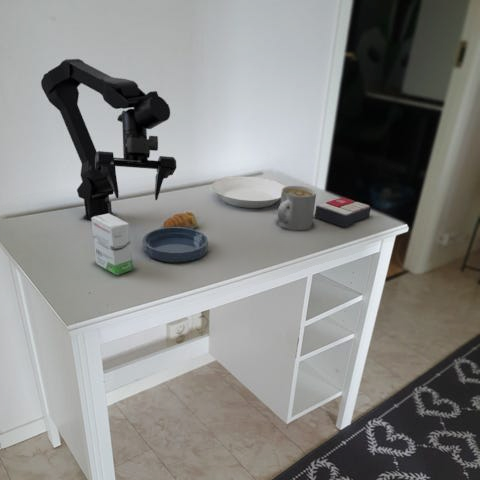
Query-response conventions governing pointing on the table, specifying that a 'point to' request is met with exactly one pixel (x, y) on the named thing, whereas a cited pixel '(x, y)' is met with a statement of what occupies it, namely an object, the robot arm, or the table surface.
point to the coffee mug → (296, 207)
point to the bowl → (248, 191)
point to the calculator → (342, 211)
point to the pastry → (181, 221)
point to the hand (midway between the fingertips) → (137, 198)
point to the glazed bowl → (175, 244)
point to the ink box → (112, 243)
